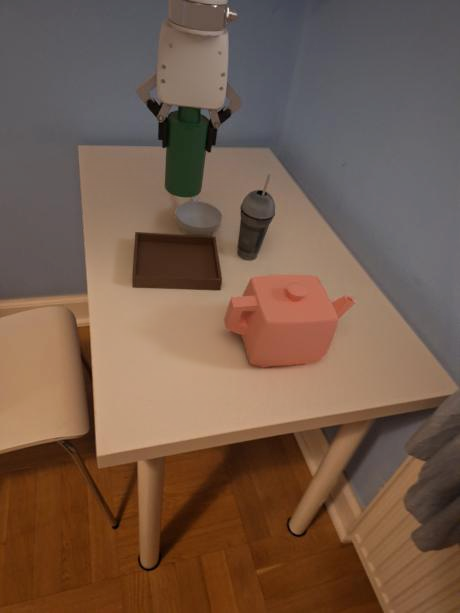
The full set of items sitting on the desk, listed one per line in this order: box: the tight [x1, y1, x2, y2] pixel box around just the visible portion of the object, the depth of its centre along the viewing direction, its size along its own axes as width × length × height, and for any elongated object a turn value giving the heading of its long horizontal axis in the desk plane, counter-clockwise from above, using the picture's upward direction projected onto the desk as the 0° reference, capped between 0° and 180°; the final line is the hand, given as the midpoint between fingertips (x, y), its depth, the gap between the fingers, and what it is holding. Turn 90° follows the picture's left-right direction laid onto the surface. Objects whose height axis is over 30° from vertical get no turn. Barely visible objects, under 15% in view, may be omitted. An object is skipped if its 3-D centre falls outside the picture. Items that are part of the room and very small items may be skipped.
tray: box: [131, 231, 223, 291], centre depth 83 cm, size 17×14×3 cm
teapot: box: [223, 274, 356, 369], centre depth 69 cm, size 22×13×14 cm, turn 101°
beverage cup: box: [236, 174, 276, 261], centre depth 84 cm, size 7×7×20 cm
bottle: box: [164, 106, 210, 199], centre depth 66 cm, size 6×6×16 cm
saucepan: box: [174, 196, 223, 236], centre depth 96 cm, size 11×18×4 cm, turn 13°
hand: (186, 145), depth 66 cm, fingers closed on bottle, 6 cm apart
